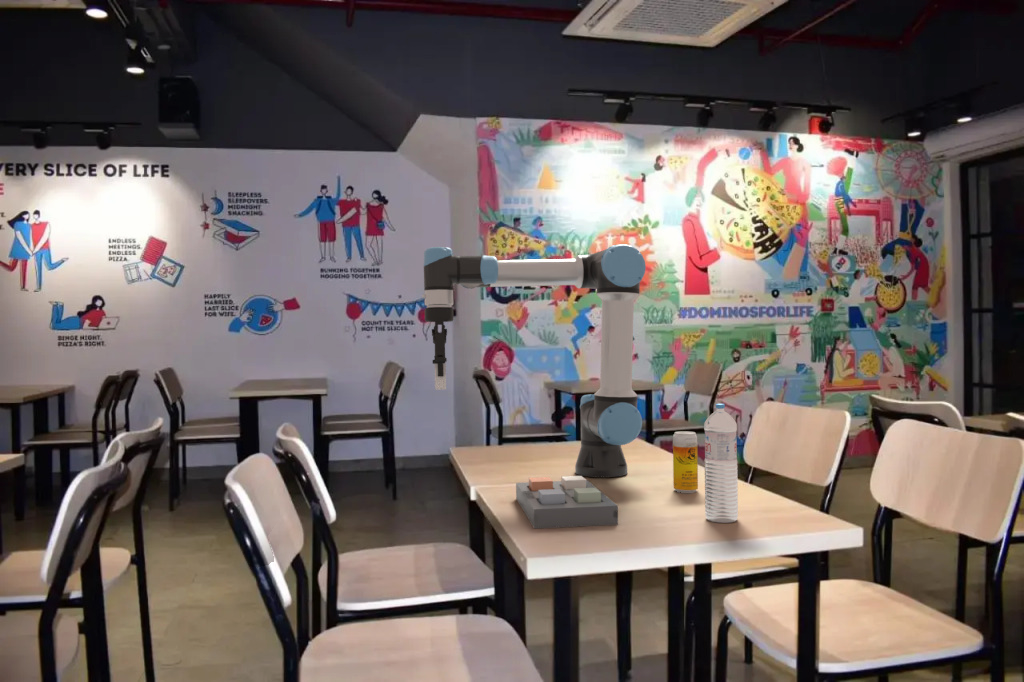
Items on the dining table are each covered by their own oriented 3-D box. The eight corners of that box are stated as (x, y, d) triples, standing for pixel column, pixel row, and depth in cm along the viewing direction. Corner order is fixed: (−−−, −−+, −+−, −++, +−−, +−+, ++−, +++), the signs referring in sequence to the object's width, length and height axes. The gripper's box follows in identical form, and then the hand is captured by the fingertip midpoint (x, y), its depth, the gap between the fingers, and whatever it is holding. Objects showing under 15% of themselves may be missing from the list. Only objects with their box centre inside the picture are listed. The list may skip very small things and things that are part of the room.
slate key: (560, 502, 161) (560, 488, 161) (565, 507, 156) (564, 493, 156) (538, 503, 161) (538, 489, 161) (542, 508, 156) (542, 494, 156)
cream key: (581, 488, 176) (581, 475, 176) (586, 492, 171) (586, 479, 171) (561, 488, 175) (561, 476, 175) (565, 493, 170) (565, 480, 170)
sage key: (595, 500, 162) (595, 487, 162) (601, 506, 157) (600, 492, 157) (573, 501, 162) (573, 488, 162) (578, 506, 157) (578, 493, 157)
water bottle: (733, 525, 151) (731, 406, 151) (701, 521, 155) (699, 404, 155) (741, 518, 157) (740, 403, 157) (710, 514, 161) (709, 402, 161)
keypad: (587, 496, 181) (587, 480, 181) (618, 524, 153) (617, 505, 153) (516, 498, 179) (516, 482, 179) (534, 528, 151) (534, 509, 151)
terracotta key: (549, 489, 175) (549, 477, 175) (553, 493, 170) (552, 481, 170) (528, 490, 174) (528, 477, 174) (532, 494, 169) (531, 481, 169)
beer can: (684, 494, 181) (683, 434, 181) (668, 490, 186) (667, 432, 186) (703, 491, 184) (702, 433, 184) (686, 487, 189) (686, 430, 189)
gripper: (424, 308, 202) (426, 384, 202) (424, 304, 177) (425, 391, 177) (451, 308, 203) (453, 384, 203) (454, 304, 178) (456, 390, 178)
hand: (440, 387), depth 190 cm, fingers open, 13 cm apart
